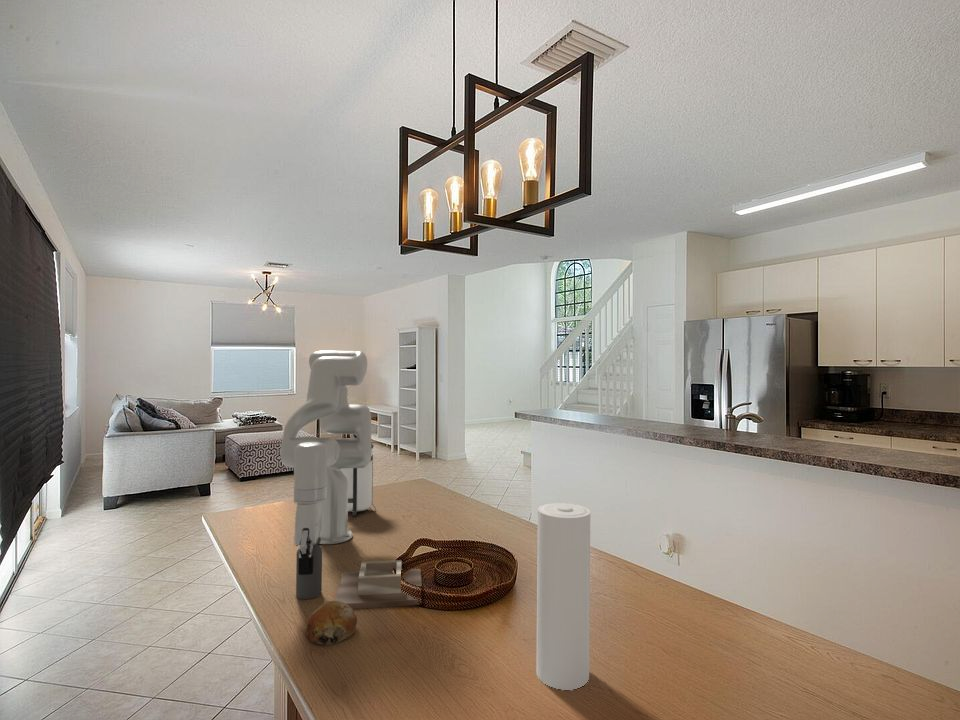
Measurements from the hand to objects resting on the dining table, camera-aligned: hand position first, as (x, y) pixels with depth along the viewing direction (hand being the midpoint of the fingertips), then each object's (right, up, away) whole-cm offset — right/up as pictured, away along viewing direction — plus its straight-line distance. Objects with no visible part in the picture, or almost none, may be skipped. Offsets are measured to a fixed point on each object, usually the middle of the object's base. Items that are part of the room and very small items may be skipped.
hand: (309, 566), depth 123 cm
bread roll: (+11, -7, -18) cm, 22 cm away
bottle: (0, -7, 0) cm, 7 cm away
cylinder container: (+56, -7, -31) cm, 65 cm away
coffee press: (-6, -7, +68) cm, 68 cm away
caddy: (+17, -7, +2) cm, 18 cm away
